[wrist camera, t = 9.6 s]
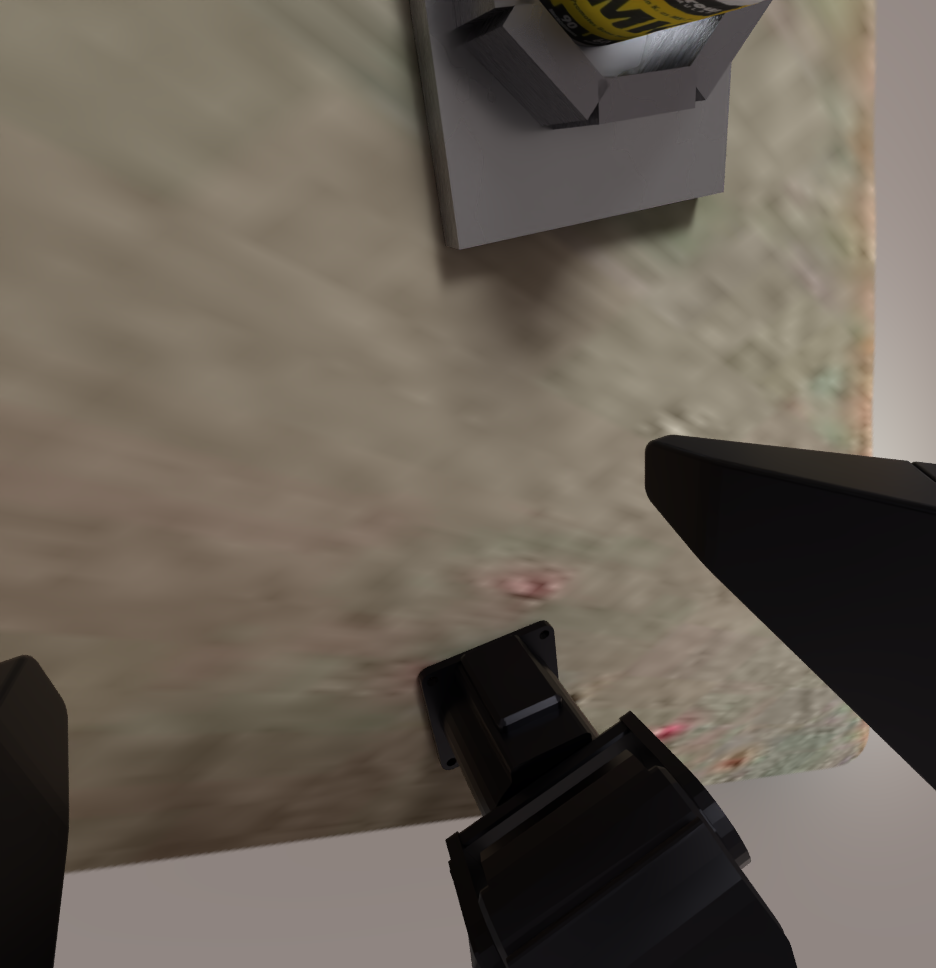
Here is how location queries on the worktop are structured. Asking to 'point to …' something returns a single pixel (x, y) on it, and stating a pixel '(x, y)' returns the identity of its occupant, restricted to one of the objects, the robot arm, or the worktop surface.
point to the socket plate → (553, 167)
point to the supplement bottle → (630, 17)
